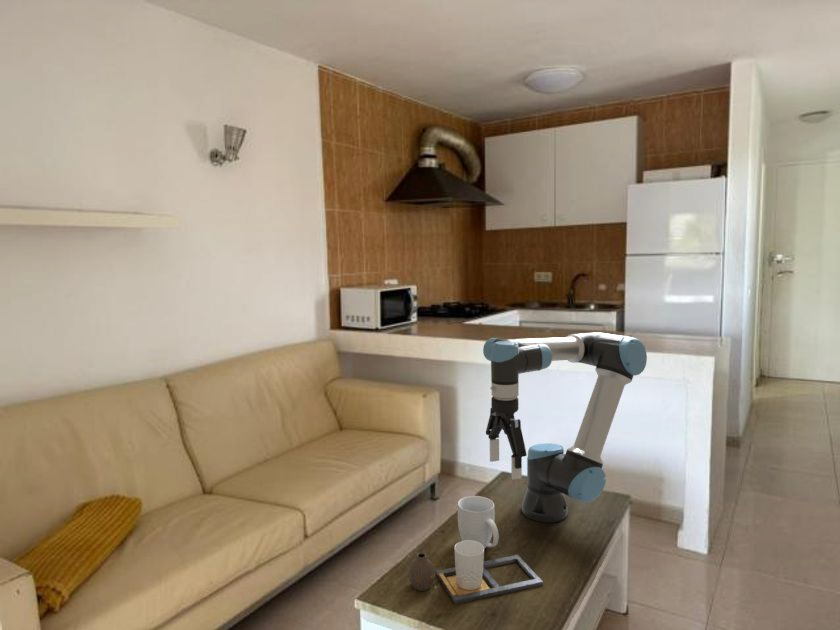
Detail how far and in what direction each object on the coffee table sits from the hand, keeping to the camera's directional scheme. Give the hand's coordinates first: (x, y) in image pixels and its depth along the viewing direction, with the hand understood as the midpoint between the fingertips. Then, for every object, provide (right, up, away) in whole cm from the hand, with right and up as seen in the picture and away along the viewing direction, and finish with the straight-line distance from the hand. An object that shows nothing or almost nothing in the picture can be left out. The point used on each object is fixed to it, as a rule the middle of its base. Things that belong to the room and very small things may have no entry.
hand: (505, 469), depth 162 cm
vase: (-24, -28, -11) cm, 39 cm away
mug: (-7, -26, +9) cm, 28 cm away
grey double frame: (-6, -27, -8) cm, 29 cm away
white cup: (-11, -28, -10) cm, 32 cm away
